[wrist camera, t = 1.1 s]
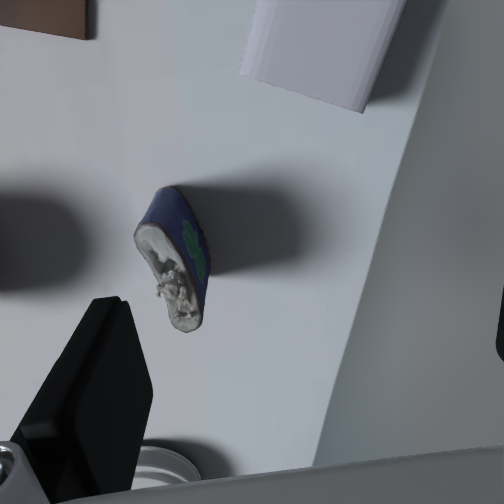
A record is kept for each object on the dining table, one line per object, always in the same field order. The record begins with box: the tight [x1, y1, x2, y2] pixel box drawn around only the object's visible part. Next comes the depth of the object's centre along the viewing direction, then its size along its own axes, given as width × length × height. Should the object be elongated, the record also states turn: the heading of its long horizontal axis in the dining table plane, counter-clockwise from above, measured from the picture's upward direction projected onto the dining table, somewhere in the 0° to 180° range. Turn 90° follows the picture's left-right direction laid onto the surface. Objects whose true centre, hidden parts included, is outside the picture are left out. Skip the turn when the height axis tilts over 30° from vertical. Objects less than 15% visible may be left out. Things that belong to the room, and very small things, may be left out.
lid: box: [131, 446, 201, 490], centre depth 48 cm, size 13×13×5 cm
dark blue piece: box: [134, 187, 211, 333], centre depth 33 cm, size 9×3×11 cm, turn 17°
